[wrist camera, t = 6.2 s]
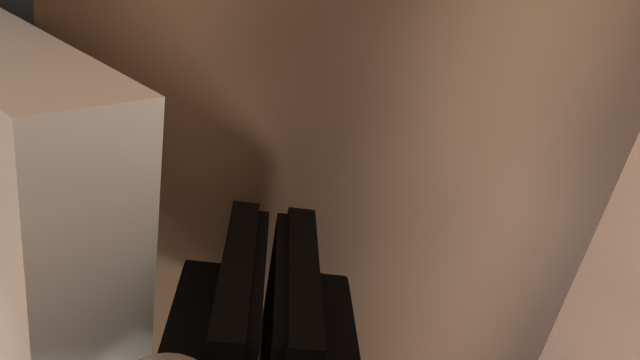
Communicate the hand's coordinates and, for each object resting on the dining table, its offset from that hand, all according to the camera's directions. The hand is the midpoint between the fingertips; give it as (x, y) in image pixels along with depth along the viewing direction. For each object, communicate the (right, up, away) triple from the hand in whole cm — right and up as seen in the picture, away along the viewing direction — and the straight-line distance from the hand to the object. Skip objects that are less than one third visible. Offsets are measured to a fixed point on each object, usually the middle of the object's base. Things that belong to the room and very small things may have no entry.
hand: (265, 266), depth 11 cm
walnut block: (+1, +1, +4) cm, 4 cm away
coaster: (-5, +1, 0) cm, 5 cm away
